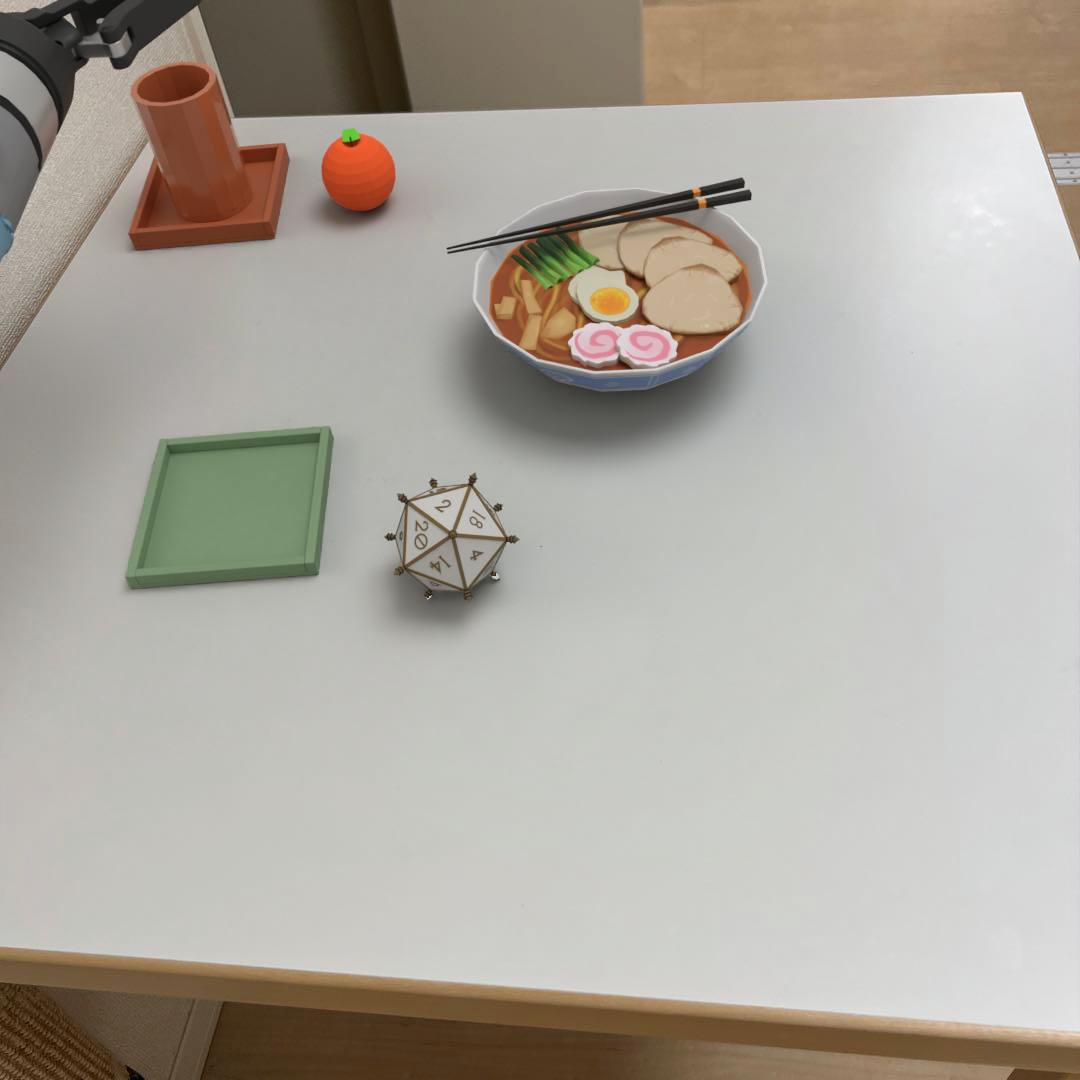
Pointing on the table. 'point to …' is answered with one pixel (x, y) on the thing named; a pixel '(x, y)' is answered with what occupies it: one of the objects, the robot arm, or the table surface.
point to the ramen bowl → (621, 284)
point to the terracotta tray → (256, 221)
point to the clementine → (358, 171)
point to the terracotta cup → (193, 140)
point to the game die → (449, 537)
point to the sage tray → (233, 508)
